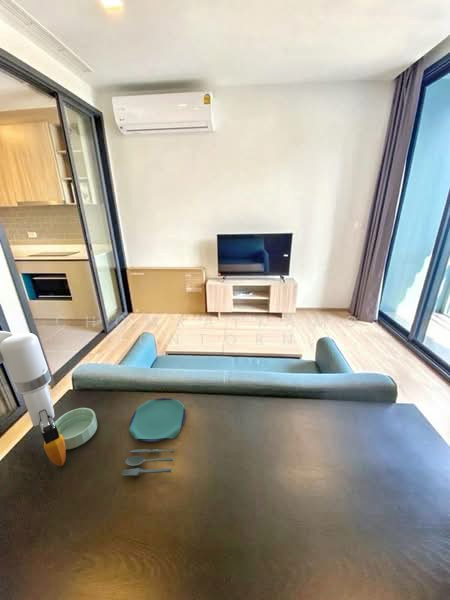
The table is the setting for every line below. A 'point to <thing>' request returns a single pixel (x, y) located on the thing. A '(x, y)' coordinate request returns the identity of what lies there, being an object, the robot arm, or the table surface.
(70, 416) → the bowl
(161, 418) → the cutlery set
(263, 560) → the table surface
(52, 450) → the carrot
